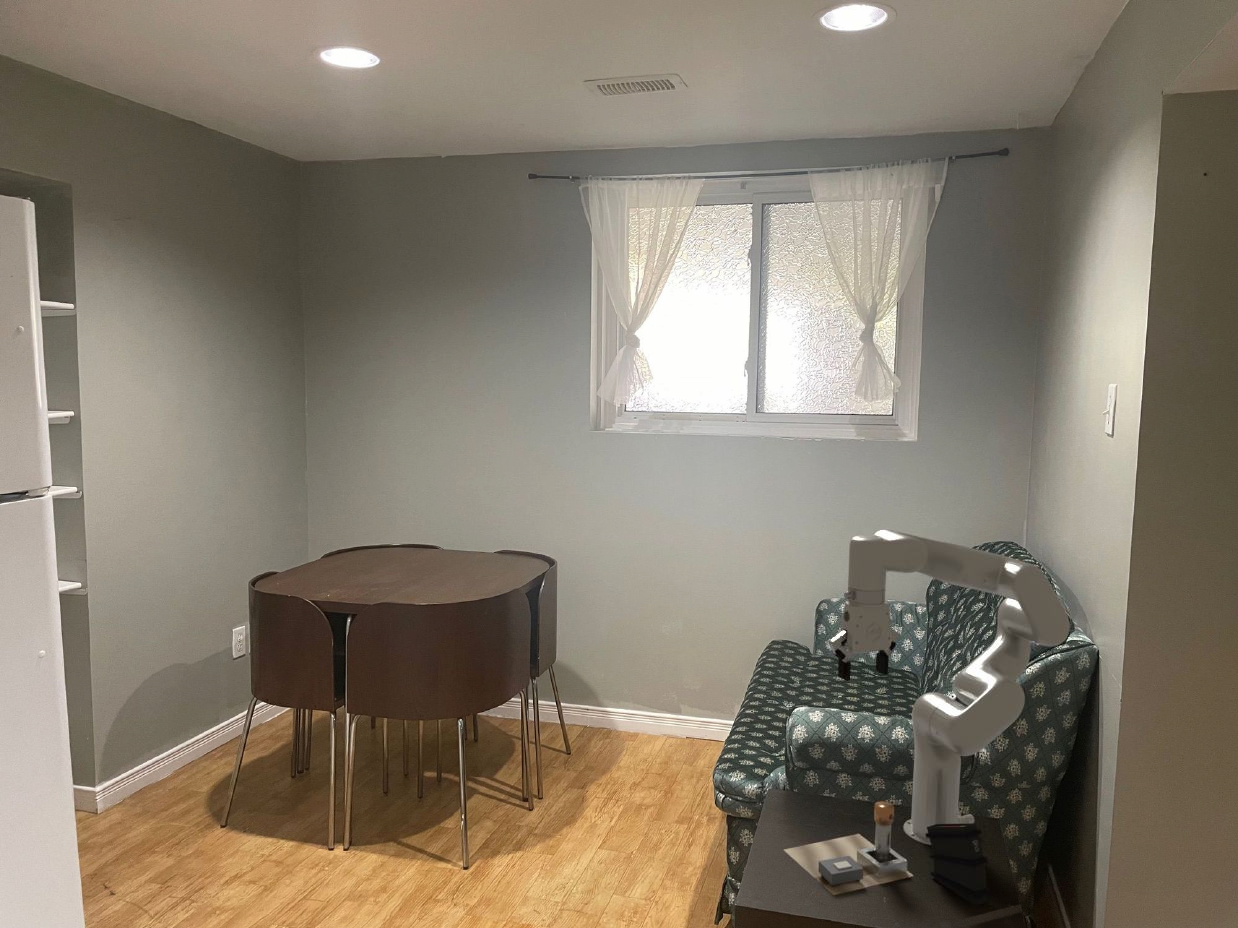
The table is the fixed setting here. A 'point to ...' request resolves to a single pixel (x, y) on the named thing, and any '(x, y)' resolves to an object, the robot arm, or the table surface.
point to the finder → (840, 870)
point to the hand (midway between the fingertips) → (863, 675)
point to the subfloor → (838, 848)
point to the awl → (883, 830)
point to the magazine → (959, 860)
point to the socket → (881, 869)
